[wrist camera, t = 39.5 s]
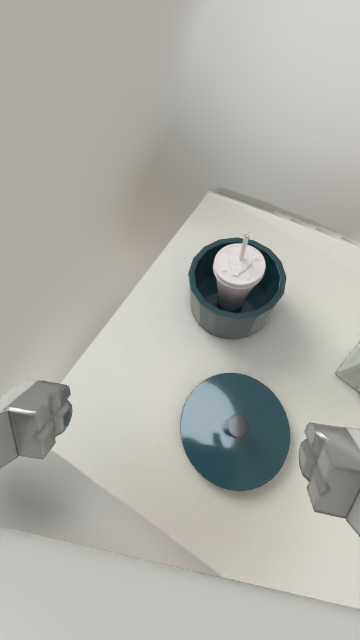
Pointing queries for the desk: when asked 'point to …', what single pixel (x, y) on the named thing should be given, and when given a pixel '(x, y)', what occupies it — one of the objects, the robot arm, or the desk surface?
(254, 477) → the lid
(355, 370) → the small box
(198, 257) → the pot
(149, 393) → the desk surface
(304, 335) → the desk surface
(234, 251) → the smoothie
